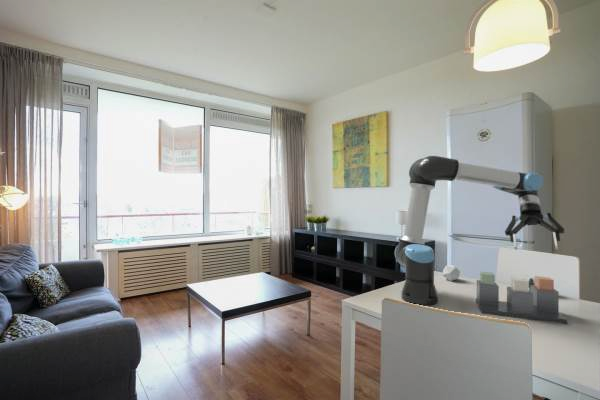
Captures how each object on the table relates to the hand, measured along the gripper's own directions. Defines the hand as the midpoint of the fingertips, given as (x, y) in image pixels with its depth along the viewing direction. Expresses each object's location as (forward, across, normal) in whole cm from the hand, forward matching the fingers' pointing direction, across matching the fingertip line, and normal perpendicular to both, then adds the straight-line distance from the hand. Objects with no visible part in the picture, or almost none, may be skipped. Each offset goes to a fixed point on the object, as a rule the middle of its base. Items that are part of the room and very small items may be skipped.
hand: (535, 247), depth 123 cm
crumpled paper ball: (+5, +39, -25) cm, 47 cm away
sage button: (+23, +18, +3) cm, 29 cm away
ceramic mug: (+8, +2, -29) cm, 30 cm away
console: (+28, +8, -1) cm, 29 cm away
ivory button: (+25, +7, +5) cm, 27 cm away
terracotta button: (+21, 0, -3) cm, 21 cm away
